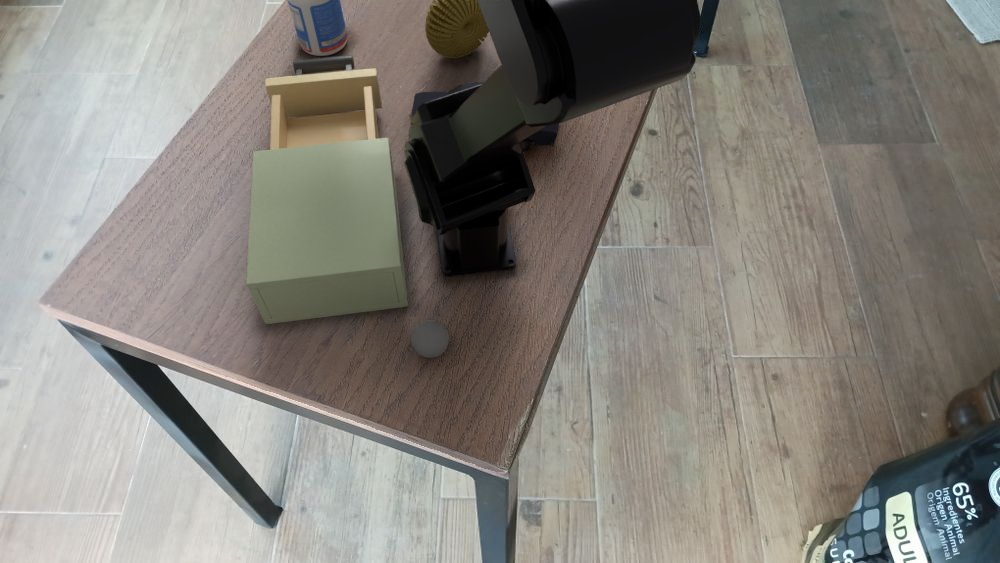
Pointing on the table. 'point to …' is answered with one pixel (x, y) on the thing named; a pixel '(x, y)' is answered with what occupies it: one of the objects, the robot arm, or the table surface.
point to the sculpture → (455, 27)
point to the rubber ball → (430, 339)
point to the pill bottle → (319, 25)
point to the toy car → (539, 139)
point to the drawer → (323, 103)
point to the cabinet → (325, 231)
